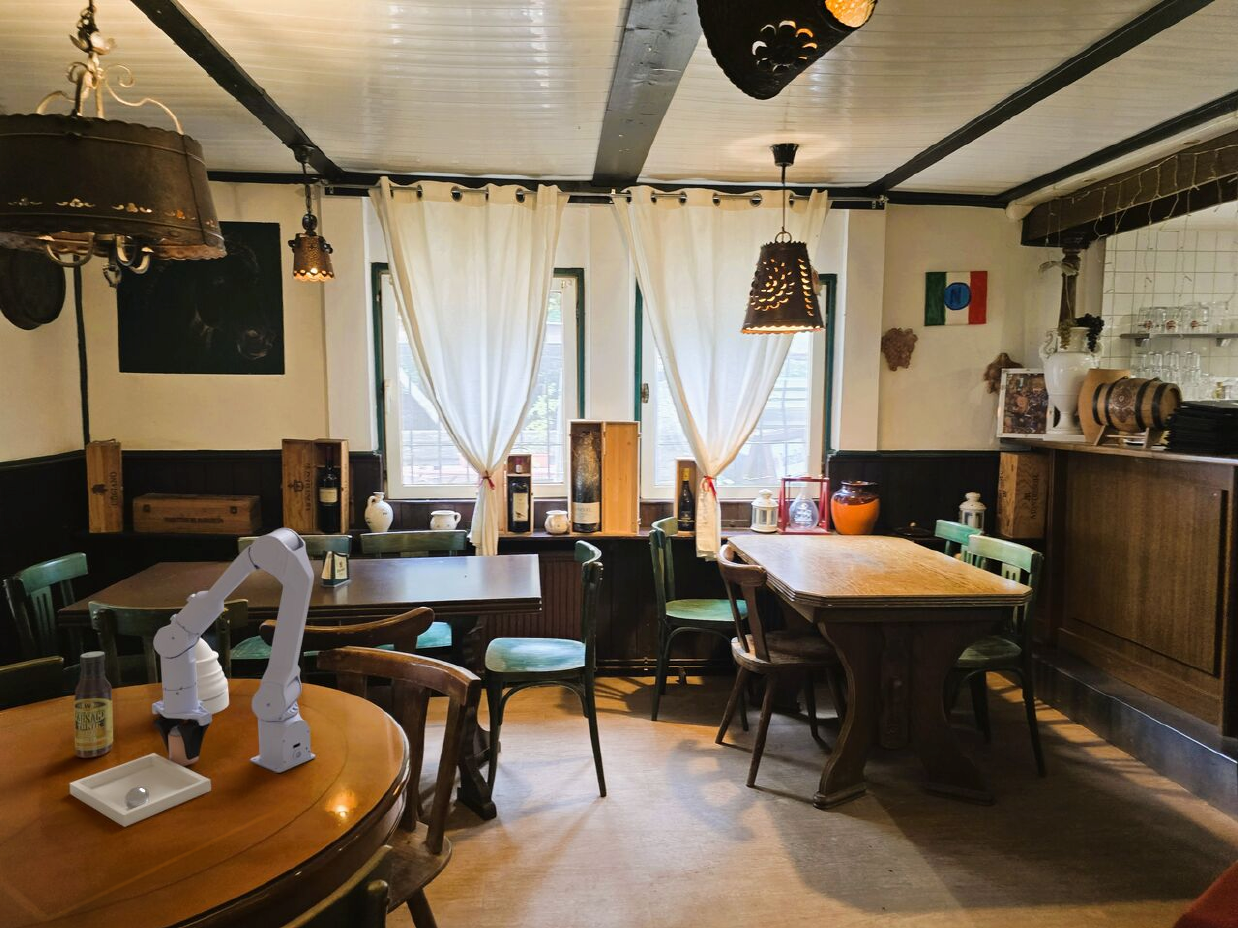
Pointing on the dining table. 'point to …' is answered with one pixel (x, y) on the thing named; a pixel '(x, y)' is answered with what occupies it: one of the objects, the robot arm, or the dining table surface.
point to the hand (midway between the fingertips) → (184, 754)
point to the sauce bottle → (93, 708)
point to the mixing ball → (136, 797)
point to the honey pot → (210, 679)
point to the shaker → (178, 748)
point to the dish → (150, 772)
